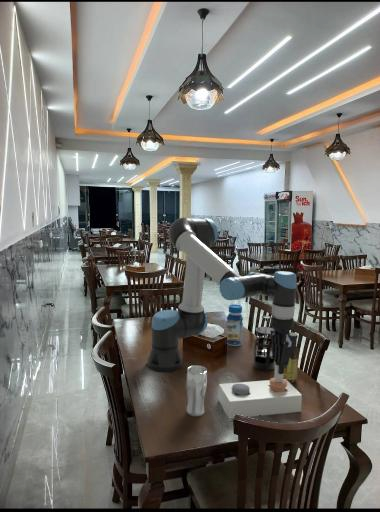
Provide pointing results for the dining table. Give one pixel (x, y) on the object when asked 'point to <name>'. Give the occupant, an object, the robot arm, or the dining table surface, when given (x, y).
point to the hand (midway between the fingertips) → (278, 380)
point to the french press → (261, 353)
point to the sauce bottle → (292, 361)
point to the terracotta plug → (278, 385)
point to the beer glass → (196, 389)
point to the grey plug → (240, 389)
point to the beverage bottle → (234, 325)
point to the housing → (259, 399)
